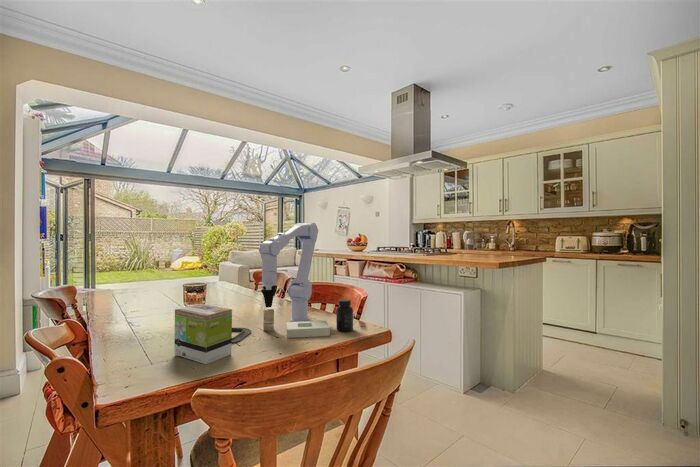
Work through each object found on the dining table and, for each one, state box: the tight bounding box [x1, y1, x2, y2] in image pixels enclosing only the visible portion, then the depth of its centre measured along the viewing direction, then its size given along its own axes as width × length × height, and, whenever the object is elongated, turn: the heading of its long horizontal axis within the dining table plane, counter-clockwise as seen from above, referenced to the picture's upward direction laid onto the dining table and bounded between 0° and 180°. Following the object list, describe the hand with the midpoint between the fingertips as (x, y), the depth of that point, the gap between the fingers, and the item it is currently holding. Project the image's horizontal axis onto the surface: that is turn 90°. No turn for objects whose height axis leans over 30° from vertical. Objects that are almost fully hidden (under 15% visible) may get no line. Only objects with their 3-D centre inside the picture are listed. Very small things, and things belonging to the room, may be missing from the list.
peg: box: [262, 308, 275, 333], centre depth 132 cm, size 4×4×8 cm
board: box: [285, 320, 331, 339], centre depth 129 cm, size 11×16×3 cm
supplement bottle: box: [335, 298, 354, 333], centre depth 133 cm, size 7×7×12 cm
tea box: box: [173, 303, 233, 365], centre depth 103 cm, size 15×10×15 cm, turn 62°
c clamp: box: [232, 327, 252, 345], centre depth 122 cm, size 20×17×3 cm
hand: (269, 305), depth 132 cm, fingers open, 7 cm apart
